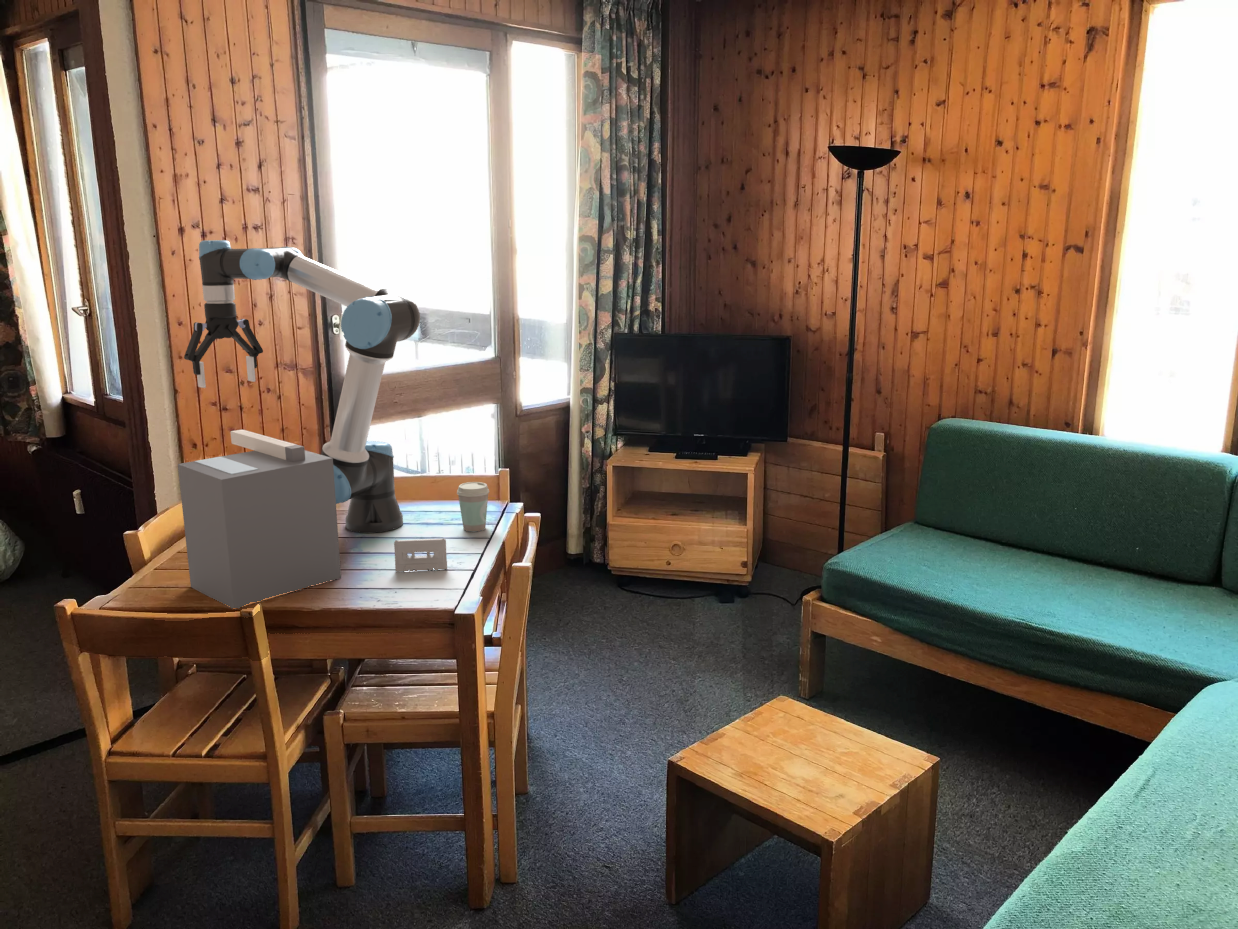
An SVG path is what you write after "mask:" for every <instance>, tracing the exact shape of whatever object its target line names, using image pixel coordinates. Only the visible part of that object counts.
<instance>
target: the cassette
mask: <svg viewBox="0 0 1238 929" xmlns="http://www.w3.org/2000/svg"><path fill="white" fill-rule="evenodd" d="M393 545H394V546H393V547H394V549H393V550H394V567H395V568H394V570H395V572H396V571H408V570H410V571H413V570H415V571H417V570H433V568H434V569H435V570H438V569H447V570H448V558H447V556H448V555H447V540H446V538H425V539H424V538H422V539H401V540H399V539H397V540H396V539H395V540H394V541H393ZM415 553H426V555H415ZM430 553H433V554H430ZM409 554H411V555H409Z"/></svg>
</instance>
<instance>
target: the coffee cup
mask: <svg viewBox="0 0 1238 929" xmlns="http://www.w3.org/2000/svg"><path fill="white" fill-rule="evenodd" d="M489 493H490V489H489V486H488V484H487V483H485V482H482V481H481V482H480V481H468V482H463V483H461V484H459V485H458V489H457V491H456V495H458V502H459V508H460V509H459V510H460V514H461V515H460V516H461V521H462V528H463V529H462V530H463V531H465V530H466V531H465V532H468V531H478V532H481V531H480V530H482V531H484V530H486V528H487V527H486V524H487V513H488V501H489ZM483 529H484V530H483Z"/></svg>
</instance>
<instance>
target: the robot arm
mask: <svg viewBox="0 0 1238 929" xmlns="http://www.w3.org/2000/svg"><path fill="white" fill-rule="evenodd" d="M198 244H199V245H198V260H199V266H200V273H201V274H200V275H201V285H202V295H203V301H204V302H205V303H204V304H203V306H204V317H205V322H203V323H202V322H198V321H197V322H194V323H193V330H192V331H193V332H192V334H191V338H190V340H189V341H188V346H187V347H186V350H185V353H184V356H183V359H184V360H187V361H189V362H191V364H192V373H193V374H194V375H196V377H197V378H196V380H197V387H198V388H202V389H203V388H204V389H206V388H207V386H206V385H207V384H206V377H205V376H206V375H205V367H204V366H205V365H204V364H205V363H204V361H201V360H202V358H203V357H204V356H205V354H206V353H207V351H208V350H209V348H210V347H211V345H212V344H213V342H215V341H216V339H217V340H221V339H222V340H223V339H233V340H234V341H235V342H236V343H237V344H238V345H239V346H240V348H242V349H243V350H244V352H245V353H246V354H248V355H246V356H245V360H246V371H247V372H246V374H247V381H248V382H252V383H254V382H256V371H255V369H257V368H258V361H257V357H259V355H260V354H263V353H264V350H263V348H262V346H261V344H260V342H259V341H258V339H257V338H256V335H255V333H254V332H253V331H252V329H251V325H250V321H249V319H247V318H246V319H245V318H240V320H238V319H237V304H236V303H235V302H234V301H235V300H236V296H235V295H236V294H235V285H234V284H235V283H234V279H236V280H237V279H241V280H252V281H257V280H259V281H260V280H261V281H262V280H267V279H269V278H280V279H283V280H285V281H288V282H290V283H293V284H295V285H298V286H300V287H302V288H304V289H306V290H308V291H310V292H313V293H315V294H318V295H319V296H321V297H325V298H326V299H330V300H331V301H333V302H335V303H338V304H340V305H342V306H345V307H346V308H345V309H344V311H343V312H342V313H343V314H342V316H341V319H340V330H341V332H342V333H343V338H344V339H345V344H344V346H345V348H346V350H347V351H348V352H349V357H348V361H347V365H346V366H347V367H346V370H345V374H344V378H343V379H344V380H343V384H342V388H341V393H340V396H339V401H338V406H337V409H336V415H335V420H334V424H333V428H332V432H331V438H330V441H327V442H325V443H324V444H323V445H322V448H321V454H320V455H323V456H327V457H330V458H333V468H334V483H335V497H336V505H337V504H343V503H346V502H347V501H349V500H350V501H349V504H348V505H349V506H348V510H347V515H346V516H345V519H344V520H345V528H346V529H347V530H348V531H351V532H354V533H360V534H361V533H364V534H366V533H367V534H372V533H373V534H374V533H382V532H383V533H384V532H388V531H392V530H395V529H398V528H400V527H402V525H403V524H404V514H403V512H402V511H401V509H400V506H399V502H398V500H397V498H396V491H395V488H396V487H395V468H394V467H395V466H394V458H395V456H394V454H393V447H392V445H391V443H389V442H385V441H379V440H378V441H376V440H368V438H369V432H370V428H371V423H372V419H373V416H374V411H375V408H376V407H375V406H376V402H377V399H378V394H379V390H380V387H381V386H380V385H381V381H382V377H383V373H384V370H385V365H386V362H388V361H389V360H391V359H393V357H394V354H395V351H396V346H397V343H398V342H402V341H405V340H408V339H409V338H411V337H412V336H413V335H414V334H415V333H416V332H417V330H418V329H419V326H420V323H421V315H420V314H421V313H420V310H419V308H418V305H417V304H416V302H415V301H414V300H413V299H412V298H411V297H409V296H407V295H406V294H404V293H401V292H398V291H396V290H394V289H392V288H389V287H386V286H385V287H384V286H383V287H380V288H379V287H376V286H374V285H372V284H369V283H367V282H365V281H363V280H360V279H358V278H355V277H353V276H351V275H349V274H346V273H344V272H341V271H339V270H337V269H334V268H332V267H330V266H327V265H325V264H322V263H320V262H317V261H315V260H313V259H311V258H308V257H306V256H304V254H303V253H302V251H301V250H300V249H298V248H296V247H293V246H291V247H290V246H280V247H261V248H258V247H257V248H256V247H251V248H232V247H231V243H230V241H229V240H225V239H224V240H223V239H222V240H221V239H219V240H216V239H215V240H214V239H212V240H209V239H208V240H206V239H205V240H201V241H200V242H199V243H198ZM237 328H241V330H242V332H243V334H244V336H245V337H246V339H247V341H248V342H249V343H248V342H247V341H246V340H245V339H244V338H243V336H242V335H241V334H240V332H238V331H237V330H238V329H237ZM205 329H206V330H207V333H206V335H205V336H204V339H203V341H202V342H201V343H200V340H201V339H202V335H203V332H204V331H205ZM199 343H200V345H199Z"/></svg>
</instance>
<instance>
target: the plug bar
mask: <svg viewBox="0 0 1238 929" xmlns="http://www.w3.org/2000/svg"><path fill="white" fill-rule="evenodd" d="M230 440H231V445H235V446H239V447H242V448H245V449H248V450H251V451H258V452H261V453H264V454H268V455H271V456H274V457H278V458H281V459H284V460H288V461H291V462H297V461H302V460H305V450H306V449H305V446H304V445H300V444H299V445H298V444H296V443H293V442H289V441H286V440H282V439H277V438H275V437H271V436H267V435H263V434H260V433H256V432H253V431H250V430H246V429H236V430H231V431H230Z"/></svg>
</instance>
